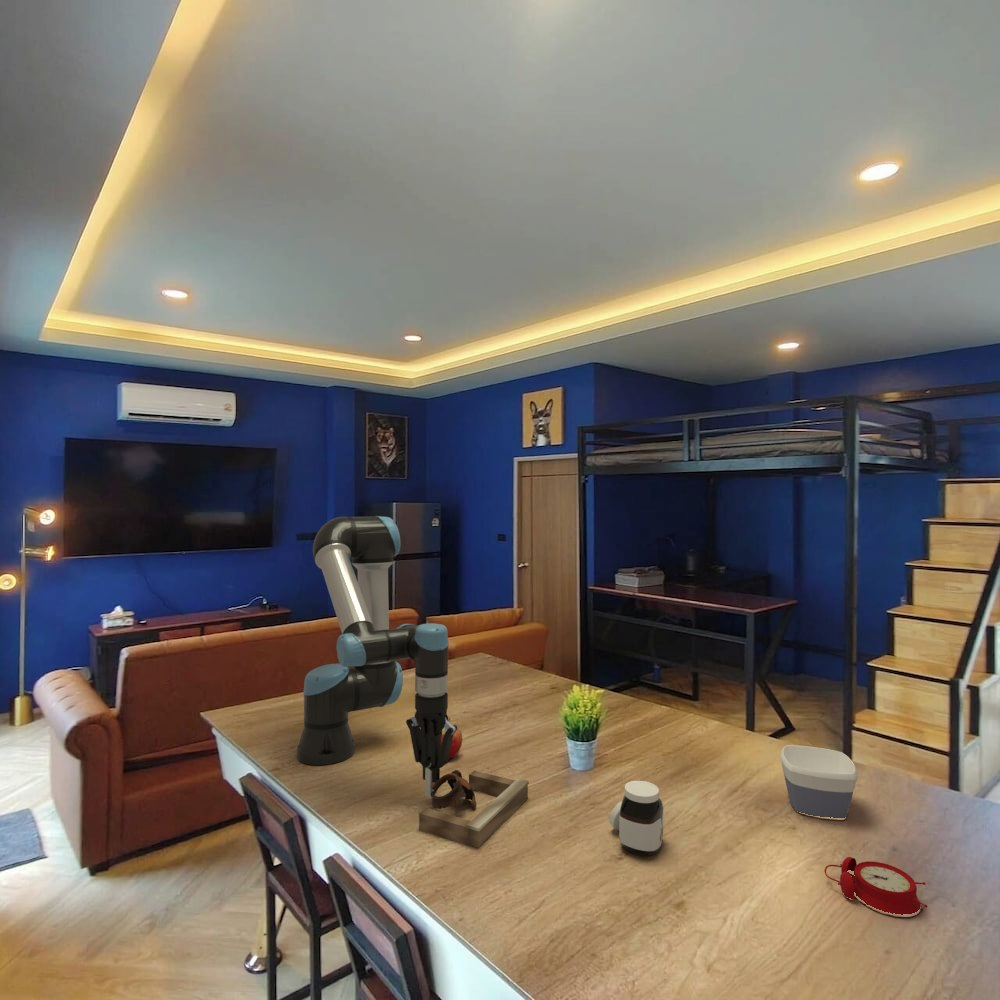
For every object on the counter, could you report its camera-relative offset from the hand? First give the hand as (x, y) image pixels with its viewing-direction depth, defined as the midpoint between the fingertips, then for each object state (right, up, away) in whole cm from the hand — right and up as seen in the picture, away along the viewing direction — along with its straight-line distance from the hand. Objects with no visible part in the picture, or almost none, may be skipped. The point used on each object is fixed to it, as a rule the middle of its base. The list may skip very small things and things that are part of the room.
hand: (431, 794), depth 141 cm
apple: (+1, -2, +24) cm, 24 cm away
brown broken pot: (+6, -2, -2) cm, 6 cm away
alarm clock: (+82, -2, -33) cm, 88 cm away
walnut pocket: (+11, -2, -6) cm, 12 cm away
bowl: (+88, -2, -2) cm, 88 cm away
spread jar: (+43, -2, -16) cm, 46 cm away
